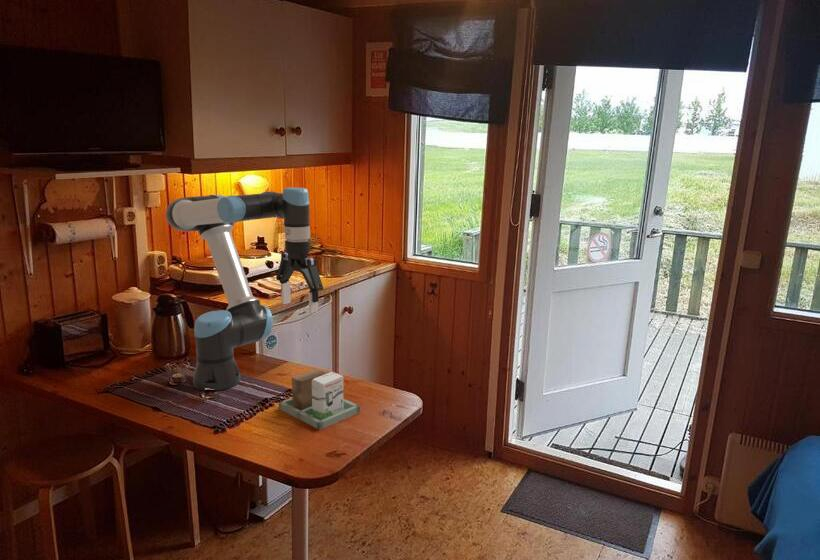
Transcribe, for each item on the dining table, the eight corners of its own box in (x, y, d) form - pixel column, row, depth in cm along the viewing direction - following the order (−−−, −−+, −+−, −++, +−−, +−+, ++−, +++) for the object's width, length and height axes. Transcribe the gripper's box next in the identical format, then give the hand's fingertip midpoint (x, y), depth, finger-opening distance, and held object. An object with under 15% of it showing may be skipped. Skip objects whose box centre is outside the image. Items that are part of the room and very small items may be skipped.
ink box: (323, 422, 172) (322, 384, 169) (311, 417, 175) (310, 379, 172) (344, 412, 179) (343, 375, 176) (332, 407, 182) (331, 370, 179)
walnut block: (292, 408, 181) (291, 377, 179) (316, 398, 187) (315, 368, 185) (303, 413, 178) (302, 381, 175) (326, 403, 184) (325, 373, 182)
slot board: (279, 411, 181) (278, 402, 180) (318, 395, 192) (318, 387, 191) (320, 432, 168) (319, 423, 167) (360, 414, 179) (359, 405, 178)
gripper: (262, 236, 186) (266, 302, 192) (313, 246, 170) (315, 318, 175) (282, 233, 192) (285, 297, 197) (334, 243, 176) (335, 313, 181)
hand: (299, 307), depth 186 cm, fingers open, 13 cm apart
